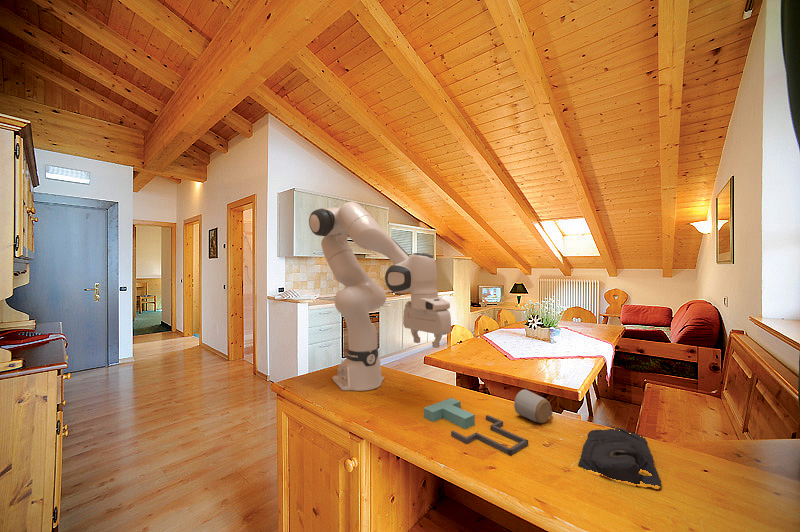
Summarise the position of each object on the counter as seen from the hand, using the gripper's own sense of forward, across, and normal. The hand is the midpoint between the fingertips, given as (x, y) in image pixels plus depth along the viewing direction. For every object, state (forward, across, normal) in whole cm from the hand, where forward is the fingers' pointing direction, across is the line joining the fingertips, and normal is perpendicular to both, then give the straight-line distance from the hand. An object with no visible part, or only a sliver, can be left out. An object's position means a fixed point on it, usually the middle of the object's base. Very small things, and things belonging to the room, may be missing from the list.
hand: (426, 345), depth 110 cm
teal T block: (+20, +11, 0) cm, 23 cm away
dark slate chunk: (+22, +49, +16) cm, 56 cm away
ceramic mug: (+21, +26, +20) cm, 39 cm away
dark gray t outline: (+21, +25, +1) cm, 32 cm away
